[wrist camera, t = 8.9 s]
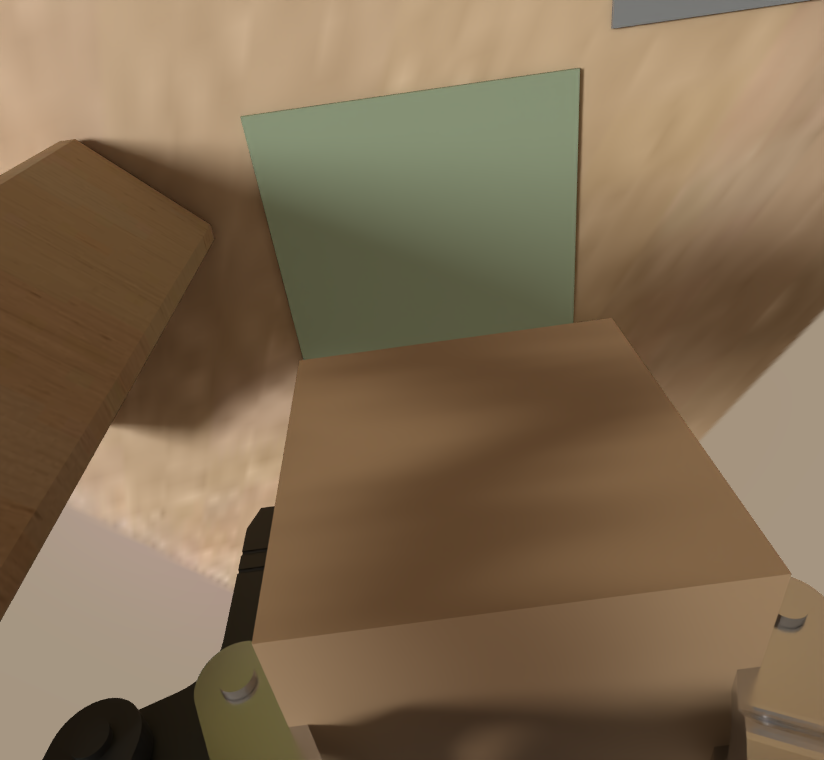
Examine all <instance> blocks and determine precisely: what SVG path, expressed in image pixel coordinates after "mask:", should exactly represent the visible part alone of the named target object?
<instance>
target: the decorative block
mask: <svg viewBox="0 0 824 760" xmlns="http://www.w3.org/2000/svg"><path fill="white" fill-rule="evenodd" d="M214 239H215V238H214V234H213V231H212V228H211V225H210V224H208V223H207V222H205V221H204V220H202V219H201V218H199V217H197V216H196V215H194V214H193V213H191V212H189V211H188V210H186V209H185V208H183V207H182V206H180V205H178V204H177V203H175V202H174V201H172V200H170V199H169V198H167V197H166V196H164V195H163V194H161V193H159V192H158V191H156V190H155V189H153V188H151V187H150V186H148V185H147V184H145V183H144V182H142V181H140V180H139V179H137V178H136V177H134V176H133V175H131V174H129V173H128V172H126V171H125V170H123V169H121V168H120V167H118V166H117V165H115V164H114V163H112V162H110V161H109V160H107V159H106V158H104V157H102V156H101V155H99V154H98V153H96V152H95V151H93V150H91V149H90V148H88V147H87V146H85V145H83V144H82V143H80V142H79V141H77V140H76V139H73V140H66V141H60V142H58V143H56V144H54V145H53V146H51V147H49V148H47V149H46V150H44V151H42V152H40V153H39V154H37V155H35V156H33V157H32V158H30V159H28V160H26V161H24V162H23V163H21V164H19V165H17V166H16V167H14V168H12V169H10V170H9V171H7V172H5V173H3V174H2V175H0V621H1V619H2V617H3V616H4V614H5V612H6V610H7V608H8V607H9V605H10V603H11V601H12V600H13V598H14V596H15V594H16V593H17V591H18V589H19V587H20V585H21V584H22V581H23V580H24V578H25V576H26V575H27V573H28V571H29V569H30V568H31V566H32V564H33V562H34V560H35V559H36V557H37V555H38V553H39V552H40V550H41V548H42V546H43V544H44V543H45V541H46V539H47V537H48V535H49V534H50V532H51V530H52V528H53V526H54V525H55V523H56V521H57V519H58V518H59V516H60V514H61V512H62V510H63V509H64V507H65V505H66V503H67V501H68V500H69V498H70V496H71V494H72V493H73V491H74V489H75V487H76V485H77V484H78V482H79V480H80V478H81V476H82V475H83V473H84V471H85V469H86V468H87V466H88V464H89V462H90V460H91V459H92V457H93V455H94V453H95V451H96V450H97V448H98V446H99V444H100V443H101V441H102V439H103V437H104V435H105V434H106V432H107V430H108V428H109V426H110V425H111V423H112V421H113V419H114V418H115V416H116V414H117V412H118V410H119V409H120V407H121V405H122V403H123V401H124V400H125V398H126V396H127V394H128V393H129V391H130V389H131V387H132V385H133V384H134V382H135V380H136V378H137V376H138V375H139V373H140V371H141V369H142V368H143V366H144V364H145V362H146V360H147V359H148V357H149V355H150V353H151V351H152V350H153V348H154V346H155V344H156V343H157V341H158V339H159V337H160V335H161V334H162V332H163V330H164V328H165V327H166V325H167V323H168V321H169V319H170V318H171V316H172V314H173V312H174V310H175V309H176V307H177V305H178V303H179V302H180V300H181V298H182V296H183V294H184V293H185V291H186V289H187V287H188V285H189V284H190V282H191V280H192V278H193V277H194V275H195V273H196V271H197V269H198V268H199V266H200V264H201V262H202V260H203V259H204V257H205V255H206V253H207V252H208V250H209V248H210V246H211V244H212V243H213V241H214Z"/></svg>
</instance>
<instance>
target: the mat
mask: <svg viewBox="0 0 824 760" xmlns="http://www.w3.org/2000/svg"><path fill="white" fill-rule="evenodd" d="M579 86H580V68H575V69H568V70H561V71H554V72H547V73H540V74H533V75H526V76H519V77H512V78H505V79H498V80H491V81H484V82H477V83H470V84H463V85H456V86H449V87H442V88H435V89H428V90H421V91H414V92H407V93H400V94H393V95H386V96H379V97H372V98H365V99H358V100H352V101H345V102H338V103H331V104H324V105H317V106H310V107H303V108H296V109H289V110H282V111H275V112H268V113H261V114H254V115H247V116H241V121H242V125H243V129H244V133H245V137H246V141H247V144H248V148H249V152H250V156H251V160H252V164H253V167H254V171H255V175H256V179H257V183H258V187H259V191H260V194H261V198H262V202H263V206H264V210H265V214H266V218H267V221H268V225H269V229H270V233H271V237H272V241H273V244H274V248H275V252H276V256H277V260H278V264H279V268H280V271H281V275H282V279H283V283H284V287H285V291H286V294H287V298H288V302H289V306H290V310H291V314H292V318H293V321H294V325H295V329H296V333H297V337H298V341H299V344H300V348H301V352H302V356H303V360H307V359H314V358H321V357H329V356H336V355H343V354H351V353H358V352H365V351H372V350H380V349H387V348H394V347H402V346H409V345H416V344H424V343H431V342H438V341H446V340H453V339H460V338H467V337H475V336H482V335H489V334H497V333H504V332H511V331H519V330H526V329H533V328H541V327H548V326H555V325H562V324H570V323H573V315H574V277H575V239H576V200H577V162H578V124H579Z"/></svg>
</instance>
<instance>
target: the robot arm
mask: <svg viewBox="0 0 824 760" xmlns="http://www.w3.org/2000/svg"><path fill="white" fill-rule="evenodd" d="M274 508H275V506H273V507H265V508H261V509H260V511H259V512H258V513H257V515H256V516H255V518H254V519H253V521H252V522H251V524H250V525H249V527H248V528H247V531H246V536H245V540H244V545H243V550H242V552H243V555H242V556H241V559H240V564H239V569H238V570H239V574H237V578H236V583H235V588H234V593H233V598H232V603H231V607H230V612H229V617H228V622H227V626H226V631H225V636H224V640H223V644H222V647H221V650H220V652H218V653H217V654H216V655H215V656H213V657H212V658H211V659H210V660H209V661H208V663H207V664H206V665H205V666H204V668H203V669H202V671H201V673H200V674H199V676H198V679H197V681H196V682H194V683H193V684H192V685H190V686H189V687H187V688H185V689H183V690H181V691H180V692H178V693H175V694H173V695H171V696H169V697H166V698H164V699H162V700H160V701H158V702H155V703H153V704H151V705H149V706H146V707H144V708H142V709H140V710H138V709H137V708H136V706H135V705H134V704H133V703H131V702H130V701H128V700H125V699H120V698H108V699H104V700H100V701H98V702H95V703H92V704H91V705H89V706H87V707H85V708H84V709H82V710H81V711H79V712H78V713H76V714H75V715H74V716H73V717H72V718H70V719H69V720H68V721H67V722H66V723H65V724H64V726H63V727H62V728H61V729H60V730H59V732H58V733H57V734H56V736H55V738H54V739H53V741H52V743H51V744H50V746H49V748H48V750H47V752H46V754H45V756H44V758H43V759H42V760H322V758H321V756H320V753H319V751H318V749H317V746H316V744H315V741H314V739H313V737H312V734H311V732H310V729H309V727H308V725H300V726H293V727H288V724H287V722H286V720H285V718H284V715H283V713H282V711H281V709H280V706H279V704H278V702H277V700H276V697H275V695H274V693H273V691H272V688H271V686H270V684H269V682H268V680H267V677H266V675H265V673H264V671H263V668H262V666H261V664H260V662H259V659H258V657H257V655H256V653H255V650H254V648H253V646H252V639H253V633H254V627H255V621H256V615H257V609H258V603H259V597H260V591H261V585H262V580H263V574H264V568H265V562H266V556H267V550H268V544H269V538H270V532H271V526H272V520H273V514H274ZM731 711H732V723H731V739H730V745H724V746H716V747H714V749H713V752H712V756H711V759H710V760H824V597H823V595H822V594H820V593H819V592H818V591H816V590H815V589H814V588H812V587H811V586H809V585H808V584H806V583H804V582H802V581H800V580H798V579H795V578H793V577H790V580H789V583H788V586H787V589H786V592H785V595H784V598H783V601H782V604H781V607H780V610H779V613H778V616H777V619H776V622H775V625H774V628H773V631H772V634H771V637H770V640H769V643H768V646H767V649H766V652H765V655H764V658H763V661H762V664H761V667H753V668H745V669H738V670H737V672H736V675H735V678H734V682H733V685H732V689H731Z"/></svg>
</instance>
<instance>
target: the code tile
mask: <svg viewBox="0 0 824 760" xmlns="http://www.w3.org/2000/svg"><path fill="white" fill-rule="evenodd" d="M801 1H808V0H613V7H612V27H611V28H620V27H627V26H634V25H641V24H648V23H655V22H662V21H669V20H676V19H683V18H690V17H697V16H704V15H710V14H717V13H724V12H731V11H738V10H745V9H752V8H759V7H766V6H773V5H780V4H787V3H794V2H801Z"/></svg>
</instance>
